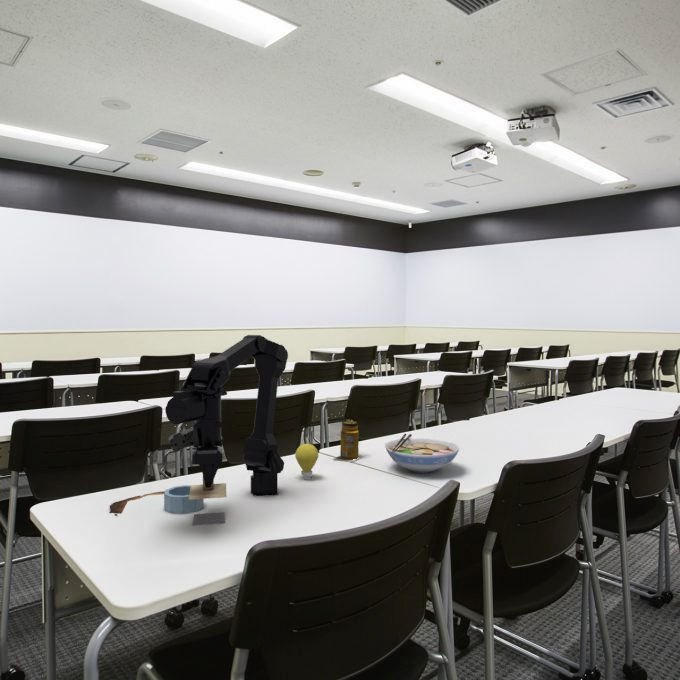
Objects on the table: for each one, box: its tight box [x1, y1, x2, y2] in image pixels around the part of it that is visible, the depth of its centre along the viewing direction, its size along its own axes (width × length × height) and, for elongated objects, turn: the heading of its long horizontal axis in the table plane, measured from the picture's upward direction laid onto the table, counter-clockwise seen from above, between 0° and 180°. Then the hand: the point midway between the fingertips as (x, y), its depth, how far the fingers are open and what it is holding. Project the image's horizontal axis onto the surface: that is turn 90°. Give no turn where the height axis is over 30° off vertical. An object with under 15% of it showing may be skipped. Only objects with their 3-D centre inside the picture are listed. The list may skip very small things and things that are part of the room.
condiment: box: [333, 420, 363, 463], centre depth 180 cm, size 7×8×12 cm
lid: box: [189, 477, 227, 500], centre depth 123 cm, size 8×8×6 cm
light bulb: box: [294, 443, 319, 480], centre depth 157 cm, size 7×7×10 cm
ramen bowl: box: [384, 433, 460, 474], centre depth 167 cm, size 25×23×8 cm
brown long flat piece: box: [108, 490, 165, 517], centre depth 137 cm, size 25×10×1 cm, turn 130°
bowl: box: [163, 484, 205, 515], centre depth 131 cm, size 9×9×4 cm
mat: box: [191, 511, 226, 526], centre depth 123 cm, size 7×7×1 cm
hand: (208, 485), depth 123 cm, fingers closed on lid, 2 cm apart
